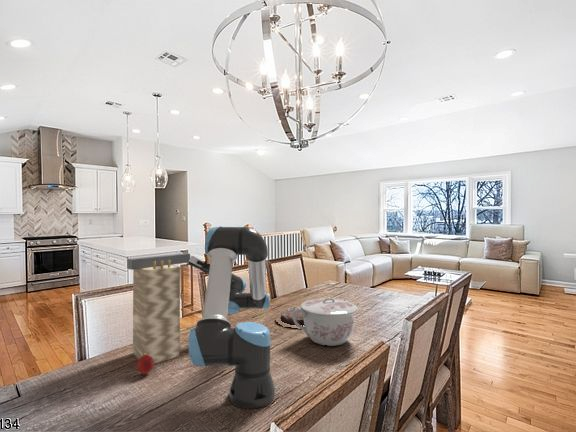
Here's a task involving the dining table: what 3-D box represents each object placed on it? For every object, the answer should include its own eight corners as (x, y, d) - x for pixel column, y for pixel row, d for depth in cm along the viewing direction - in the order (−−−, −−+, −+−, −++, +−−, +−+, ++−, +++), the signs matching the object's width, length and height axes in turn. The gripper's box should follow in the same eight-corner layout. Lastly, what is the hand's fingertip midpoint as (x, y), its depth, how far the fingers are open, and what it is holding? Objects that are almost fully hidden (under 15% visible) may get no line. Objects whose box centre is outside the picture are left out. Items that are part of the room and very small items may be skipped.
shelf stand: (145, 366, 126) (146, 262, 126) (132, 353, 138) (133, 258, 138) (179, 356, 136) (180, 259, 136) (165, 344, 148) (165, 256, 148)
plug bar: (131, 269, 128) (131, 259, 128) (127, 268, 130) (127, 258, 130) (190, 262, 149) (190, 253, 149) (185, 261, 151) (185, 253, 151)
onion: (149, 369, 124) (149, 348, 124) (156, 373, 121) (156, 352, 121) (134, 374, 120) (134, 353, 120) (141, 379, 116) (141, 357, 116)
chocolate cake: (267, 326, 174) (267, 314, 174) (284, 312, 200) (284, 301, 200) (317, 333, 165) (317, 320, 165) (328, 316, 191) (328, 306, 191)
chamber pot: (365, 337, 159) (365, 295, 159) (345, 358, 135) (346, 309, 135) (314, 326, 173) (314, 288, 173) (288, 344, 150) (289, 299, 150)
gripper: (210, 265, 168) (176, 247, 156) (236, 271, 149) (200, 251, 137) (204, 278, 165) (169, 261, 153) (229, 286, 147) (192, 267, 135)
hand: (183, 256), depth 145 cm, fingers open, 13 cm apart
